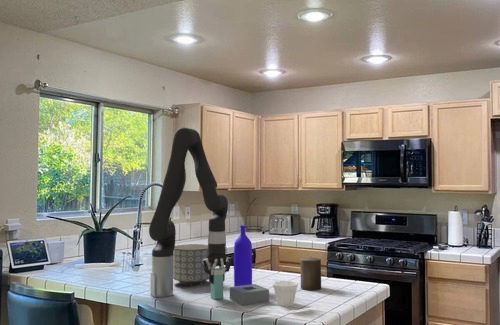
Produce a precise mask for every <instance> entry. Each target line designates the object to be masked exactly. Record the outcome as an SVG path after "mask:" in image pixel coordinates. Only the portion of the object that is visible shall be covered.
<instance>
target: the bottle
mask: <svg viewBox="0 0 500 325" xmlns="http://www.w3.org/2000/svg"><path fill="white" fill-rule="evenodd" d="M239 227H240V235H239V236H238V237H237V239H235V242H234V244H233V248H234V249H233V287H234V286H242V285H251V284H253V247H252V245H253V244H252V241H251V240H250V238H249V237H248V236H247V234H246V228H247V225H245V224H244V225H243V224H241V225H239Z"/></svg>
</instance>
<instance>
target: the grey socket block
mask: <svg viewBox="0 0 500 325" xmlns="http://www.w3.org/2000/svg"><path fill="white" fill-rule="evenodd" d="M229 300H230V301H233V302H234V303H237V304H238V305H241V306H250V305H252V306H253V305H258V304H259V305H260V304H263V303H265V304H266V303H270V290H269V289H268V288H266V287H263V286H261V285H258V284H256V283H252V284H251V285H242V286H234V285H233V286H229Z"/></svg>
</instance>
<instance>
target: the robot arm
mask: <svg viewBox="0 0 500 325" xmlns="http://www.w3.org/2000/svg"><path fill="white" fill-rule="evenodd" d="M204 149H205V148H204V145H203V141H202V139H201V135H200V134H199V132H198V131H197V130H195V129H194V128H189V127H185V126H184V127H180V128H177V130H176V131H175V134H174V135H173V140H172V147H171V151H170V156H169V162H168V165H167V168H166V172H165V176H164V179H163V182H162V188H161V191H160V195H159V198H158V200H157V201H158V202H157V206H156V208H155V211H154V214H153V216H152V219H151V221H150V224H149V228H148V234H149V235H148V236H149V237H150V239H151V240H152V241H155V242H156V245H155V246H154V247H153V248H152V251H151V272H150V296H152V297H153V298H163V297H171V296H172V295H174V279H173V251H174V248H175V246H176V234H177V232H176V231H177V230H176V226H175V223H174V221H172V220H171V219H170V217H171V214H172V212H173V210H174V208H175V206H176V205H177V204H178V202H179V200H180V199H181V197H182V195H183V193H184V189H185V185H186V181H187V180H186V179H187V176H186V175H187V174H186V173H187V172H186V166H185V165H186V157H187V154H188V152H189V154H190V155H191V157H192V160H193V163H194V170H195V171H194V173H195V176H196V179H197V182H198V184H199V187H200V188H201V191H202V197H203V201H204V205H205V207H206V208H207V209H208V211H210V212H212V216H211V217H210V218H209V220H208V234H207V245H208V257H207V258H206V259H204V260H203V259H202V260H201V262H202V265H203V268H204V271H205V273H207V274H209V280H208V281H209V282H208V283H210V285H211V284H213V283H214V275H213V274H214V270H215V268H217V267H218V268H221V269H223V283H224V282H225V281H226V280H225V278H226V277H225V275H226V273H229V272H230V269H231V266H232V263H233V258H232V257H229V256H227V254H226V253H227V239H226V238H227V237H226V236H227V235H226V219H227V215H228V209H229V201H228V199H227V197H226V196H225V195H224V194H218V193H217V187H218V182H217V180H216V178H215V176H214V174H213V171H212V169H211V167H210V165H209V162H208V159H207V156H206V152H205V150H204ZM208 261H209V263H210V266H209V269H208V266H207V264H208ZM225 262H226V263H225ZM224 263H225V264H224Z"/></svg>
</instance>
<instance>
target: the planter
mask: <svg viewBox="0 0 500 325" xmlns="http://www.w3.org/2000/svg"><path fill="white" fill-rule="evenodd" d="M207 257H208V244H202V243H200V244H199V243H189V244H187V243H185V244H178V245H175V248H174V251H173V281H177V282H179V283H180V284H183V285H185V286H190V287H191V286H193V287H194V286H199V285H202V284H204V283H206V282H207V281H209V274H207V273H205V271H204V268H203V265H202V262H201V260H202V259H203V260H204V259H206V258H207ZM207 266H208V269H209V266H210V263H209V261H208V264H207Z"/></svg>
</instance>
